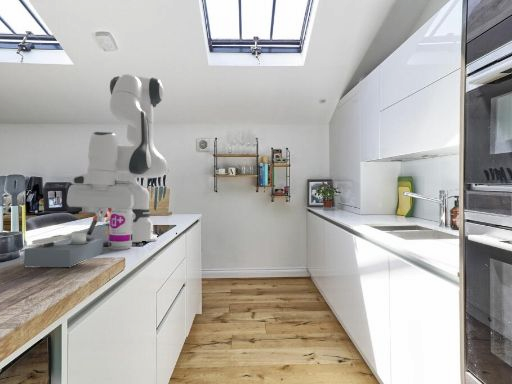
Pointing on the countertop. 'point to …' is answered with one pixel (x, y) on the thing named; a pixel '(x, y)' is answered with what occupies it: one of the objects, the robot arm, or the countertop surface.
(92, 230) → the lever
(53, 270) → the countertop surface
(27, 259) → the console
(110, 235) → the supplement can
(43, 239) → the rocker
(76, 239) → the button
